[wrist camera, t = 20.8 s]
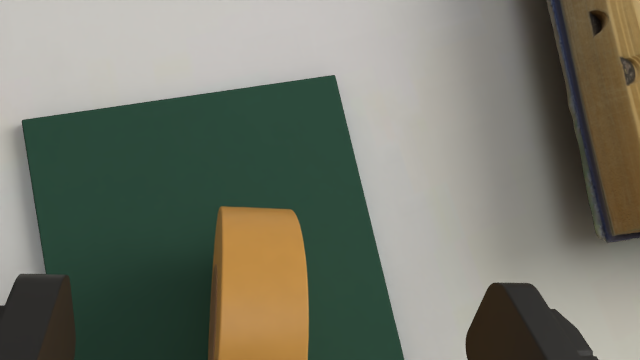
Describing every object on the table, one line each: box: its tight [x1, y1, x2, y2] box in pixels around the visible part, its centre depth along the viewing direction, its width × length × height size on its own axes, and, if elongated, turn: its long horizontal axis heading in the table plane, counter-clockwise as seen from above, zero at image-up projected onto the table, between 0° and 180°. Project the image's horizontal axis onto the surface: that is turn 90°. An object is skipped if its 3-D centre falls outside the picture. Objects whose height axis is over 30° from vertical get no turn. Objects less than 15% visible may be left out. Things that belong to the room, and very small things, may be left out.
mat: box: [22, 75, 404, 360], centre depth 22 cm, size 20×13×1 cm, turn 13°
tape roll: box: [208, 206, 309, 360], centre depth 18 cm, size 8×2×8 cm, turn 179°
